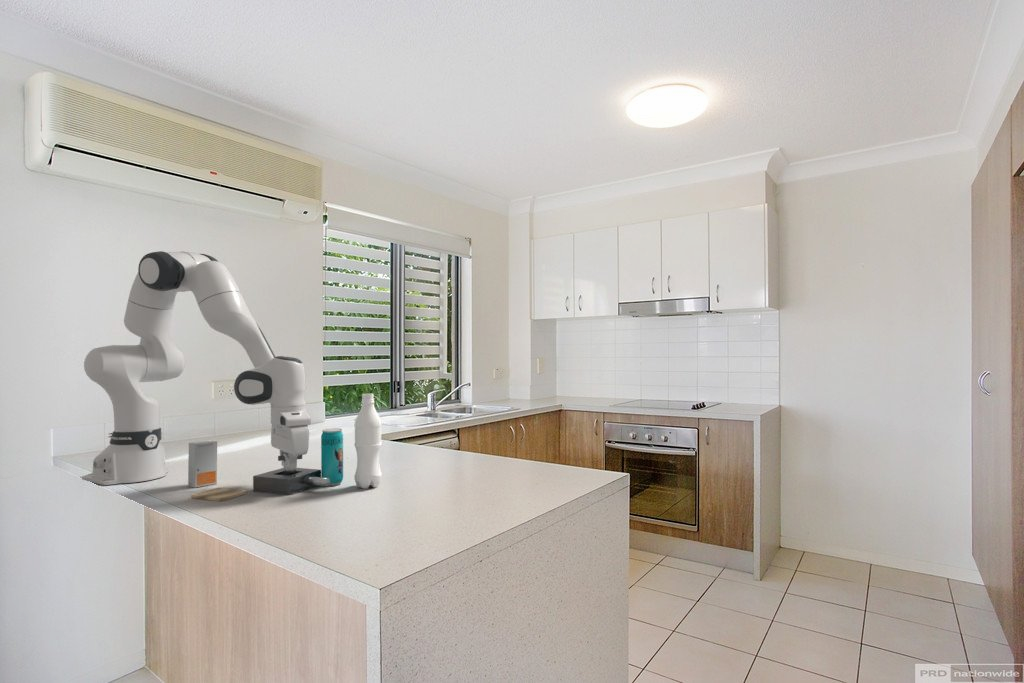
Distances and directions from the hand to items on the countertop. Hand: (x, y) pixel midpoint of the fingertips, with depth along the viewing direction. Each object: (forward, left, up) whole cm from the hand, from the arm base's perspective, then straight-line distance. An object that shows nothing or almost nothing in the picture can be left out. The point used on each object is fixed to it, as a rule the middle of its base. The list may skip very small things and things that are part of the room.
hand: (288, 467), depth 149 cm
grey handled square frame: (+3, 0, -5) cm, 6 cm away
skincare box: (-25, -5, -6) cm, 26 cm away
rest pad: (-11, -12, -5) cm, 17 cm away
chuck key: (0, 0, -4) cm, 4 cm away
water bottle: (+20, +8, -6) cm, 22 cm away
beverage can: (+9, +7, -6) cm, 13 cm away
